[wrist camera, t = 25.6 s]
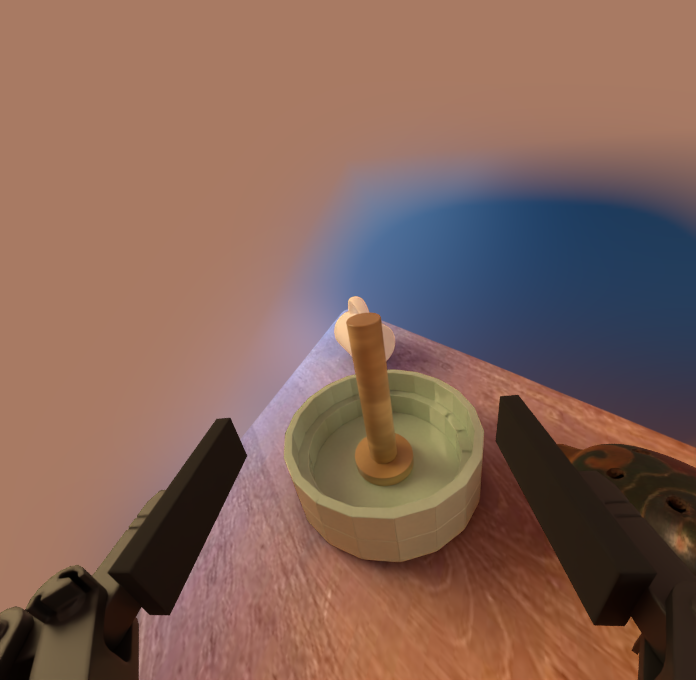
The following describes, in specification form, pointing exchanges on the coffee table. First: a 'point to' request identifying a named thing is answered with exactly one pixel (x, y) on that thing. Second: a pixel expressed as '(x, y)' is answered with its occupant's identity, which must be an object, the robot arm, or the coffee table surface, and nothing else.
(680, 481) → the decorative turtle
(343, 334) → the mug
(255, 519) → the coffee table surface
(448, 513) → the bowl
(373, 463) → the wooden peg stand
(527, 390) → the coffee table surface
